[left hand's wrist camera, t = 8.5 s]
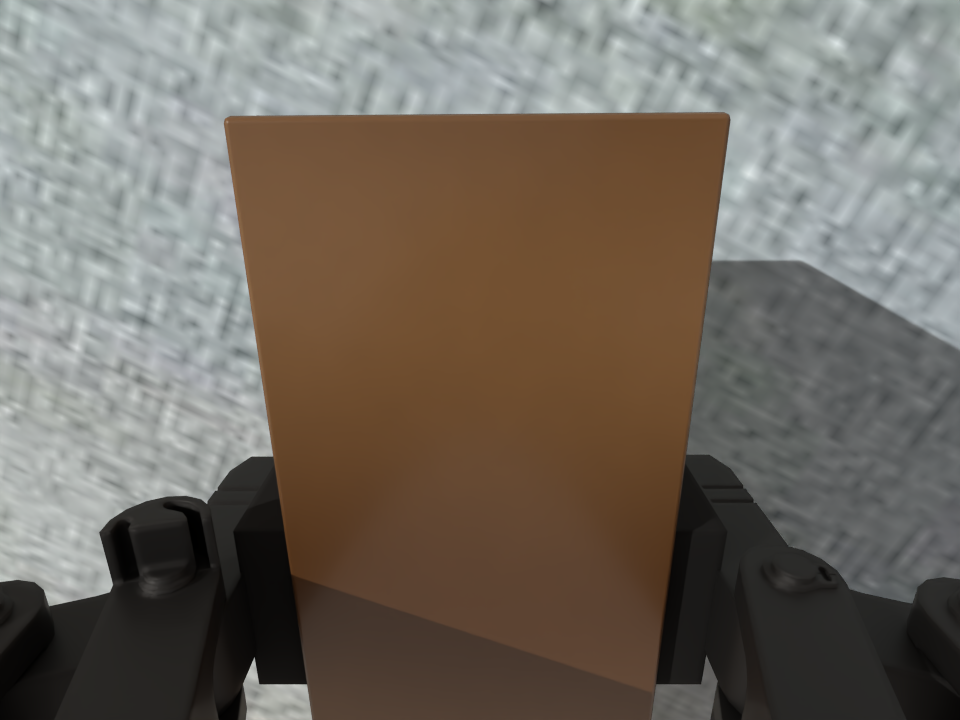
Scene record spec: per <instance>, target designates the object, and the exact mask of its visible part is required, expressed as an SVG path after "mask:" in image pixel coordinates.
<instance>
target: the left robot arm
mask: <svg viewBox="0 0 960 720" xmlns="http://www.w3.org/2000/svg"><path fill="white" fill-rule="evenodd" d="M99 533H100V537H101V540H102V544H103V548H104V552H105V555H106V559H107V563H108V567H109V570H110V574H111V578H112V582H113V587H112V589H111V591H110V593H106V594H103V595H99V596H95V597H90V598H86V599H81V600H77V601H72V602H67V603H63V604H58V605H53V606H49V605H48V602H47V599H46V596H45V593H44V590H43V589H42V588H41V587H40V586H38V585H37V584H36V583H35V582H28V581H21V580H14V581H6V582H0V720H246V712H247V706H246V699H245V693H244V687H243V682H244V680H245V678H246V675H247V673H248V671H249V668H250V666H251V664H252V661H253V659H254V657H255V662H256V667H257V673H258V679H259V684H307V679H306V673H305V666H304V659H303V653H302V646H301V639H300V632H299V626H298V619H297V612H296V605H295V599H294V592H293V585H292V578H291V572H290V565H289V558H288V551H287V545H286V538H285V531H284V525H283V518H282V511H281V504H280V498H279V491H278V484H277V477H276V471H275V464H274V457H250V458H249V459H247V460H246V461H244V462H243V463H241V464H240V465H238V466H237V467H235V468H234V469H232V470H231V471H230V472H229V473H228V475H227V476H226V477H225V479H224V480H223V481H222V483H221V484H220V485H219V487H218V491H215V492H214V493H213V495H212V496H211V497H210V499H209V500H208V504H206V503H205V502H204V501H202V500H201V499H197V498H193V497H188V496H173V497H164V498H159V499H155V500H150V501H146V502H144V503H141V504H139V505H136V506H134V507H131V508H129V509H126V510H125V511H123V512H122V513H120V514H119V515H117V516H116V517H114V518H113V519H111V520H110V521H109V522H108V523H107V524H106V525H105V527H104V528H103V529H102V530H101V531H100V532H99ZM706 655H707V657H708V660H709V662H710V664H711V666H712V669H713V671H714V673H715V676H716V678H717V680H718V682H717V687H716V693H715V698H714V703H713V709H712V714H711V720H960V579H952V578H944V577H943V578H936V579H929V580H926V581H925V582H924V583H922V584H921V585H920V586H919V587H918V588H917V591H916V595H915V598H914V601H913V604H910V603H905V602H901V601H896V600H891V599H887V598H882V597H877V596H873V595H868V594H864V593H860V592H857V591H853V590H850V589H849V588H848V586H847V584H846V582H845V581H844V580H843V578H842V577H841V575H840V574H839V573H838V571H837V570H835V569H834V568H833V567H831V566H830V565H829V564H827V563H826V562H825V561H823V560H822V559H820V558H818V557H816V556H814V555H812V554H810V553H808V552H805V551H803V550H800V549H796V548H792V547H789V546H788V545H787V544H786V542H785V541H784V540H783V538H782V537H781V536H780V534H779V533H778V532H777V530H776V529H775V528H774V526H773V525H772V524H771V522H770V521H769V520H768V518H767V517H766V516H765V514H764V513H763V512H762V510H761V509H760V508H759V506H758V505H757V503H754V502H753V498H752V497H751V495H750V494H749V493H748V491H747V490H746V489H743V485H742V483H741V482H740V481H739V479H738V478H737V477H736V475H735V474H734V473H733V471H732V470H731V469H730V468H728V467H727V466H725V465H724V464H722V463H721V462H719V461H718V460H716V459H715V458H713V457H712V456H710V455H686V460H685V467H684V475H683V483H682V490H681V498H680V505H679V513H678V520H677V528H676V536H675V543H674V551H673V558H672V566H671V573H670V581H669V589H668V596H667V604H666V611H665V619H664V626H663V634H662V641H661V649H660V657H659V664H658V672H657V679H656V684H701V682H702V676H703V670H704V664H705V659H706Z"/></svg>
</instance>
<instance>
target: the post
mask: <svg viewBox="0 0 960 720" xmlns="http://www.w3.org/2000/svg"><path fill="white" fill-rule="evenodd" d="M224 127H225V134H226V140H227V147H228V154H229V161H230V167H231V174H232V181H233V188H234V194H235V201H236V208H237V215H238V221H239V228H240V235H241V242H242V248H243V255H244V262H245V268H246V275H247V282H248V289H249V295H250V302H251V309H252V316H253V322H254V329H255V336H256V343H257V349H258V356H259V363H260V370H261V376H262V383H263V390H264V396H265V403H266V410H267V417H268V423H269V430H270V437H271V444H272V450H273V457H274V464H275V471H276V477H277V484H278V491H279V498H280V504H281V511H282V518H283V525H284V531H285V538H286V545H287V551H288V558H289V565H290V572H291V578H292V585H293V592H294V599H295V605H296V612H297V619H298V626H299V632H300V639H301V646H302V653H303V659H304V666H305V673H306V679H307V686H308V693H309V700H310V706H311V713H312V720H651V717H652V710H653V702H654V694H655V687H656V679H657V672H658V664H659V657H660V649H661V641H662V634H663V626H664V619H665V611H666V604H667V596H668V589H669V581H670V573H671V566H672V558H673V551H674V543H675V536H676V528H677V520H678V513H679V505H680V498H681V490H682V483H683V475H684V467H685V460H686V452H687V445H688V437H689V430H690V422H691V415H692V407H693V399H694V392H695V384H696V377H697V369H698V362H699V354H700V346H701V339H702V331H703V324H704V316H705V309H706V301H707V293H708V286H709V278H710V271H711V263H712V256H713V248H714V241H715V233H716V225H717V218H718V210H719V203H720V195H721V188H722V180H723V172H724V165H725V157H726V150H727V142H728V135H729V127H730V115H729V114H727V113H725V112H694V113H561V114H428V115H295V116H229V117H227V118H225V121H224Z"/></svg>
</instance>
